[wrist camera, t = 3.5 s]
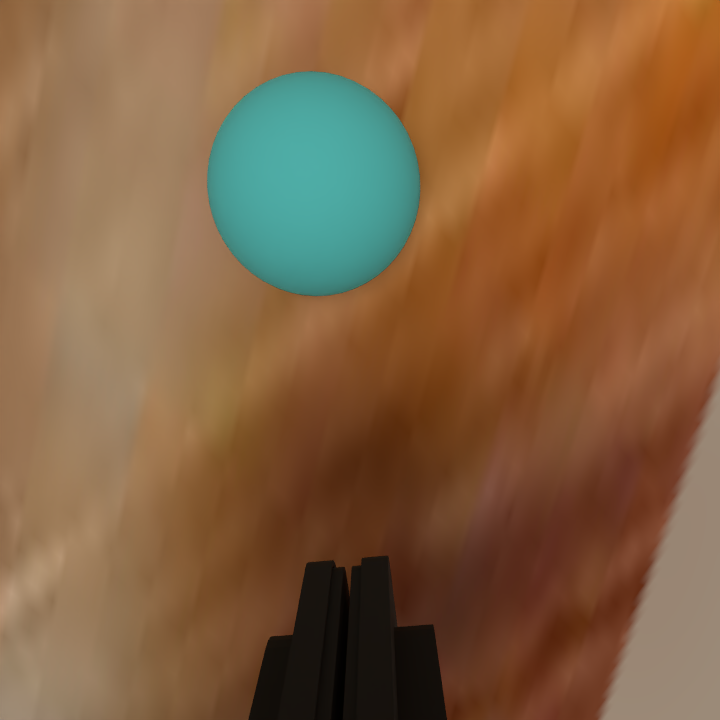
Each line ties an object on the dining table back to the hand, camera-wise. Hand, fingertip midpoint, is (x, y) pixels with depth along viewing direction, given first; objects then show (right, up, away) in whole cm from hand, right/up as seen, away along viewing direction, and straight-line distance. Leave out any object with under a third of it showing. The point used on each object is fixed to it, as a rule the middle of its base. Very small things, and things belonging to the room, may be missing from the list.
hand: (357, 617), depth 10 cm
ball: (-1, +10, +4) cm, 11 cm away
